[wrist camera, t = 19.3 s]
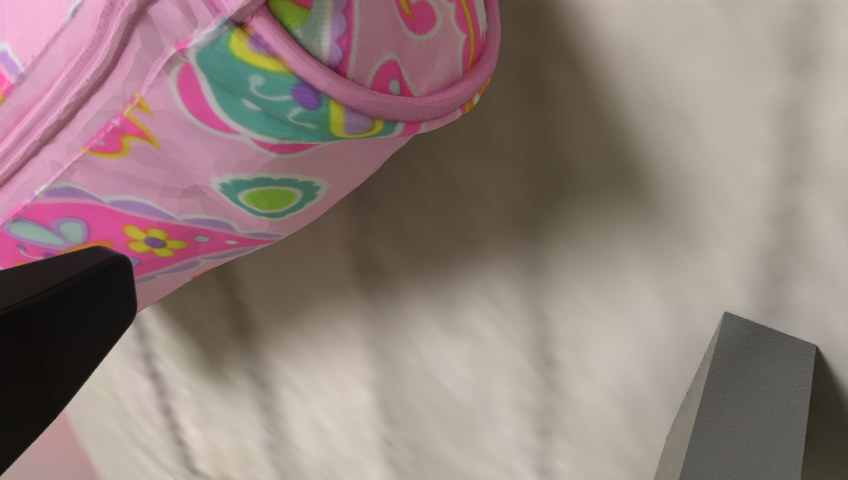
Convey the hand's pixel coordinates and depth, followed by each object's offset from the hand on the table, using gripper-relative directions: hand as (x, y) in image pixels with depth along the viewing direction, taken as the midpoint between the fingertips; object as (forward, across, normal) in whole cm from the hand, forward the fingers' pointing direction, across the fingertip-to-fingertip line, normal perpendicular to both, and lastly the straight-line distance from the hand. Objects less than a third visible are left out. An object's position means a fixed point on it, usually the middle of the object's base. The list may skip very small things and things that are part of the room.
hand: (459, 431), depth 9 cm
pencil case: (+12, +13, +5) cm, 18 cm away
